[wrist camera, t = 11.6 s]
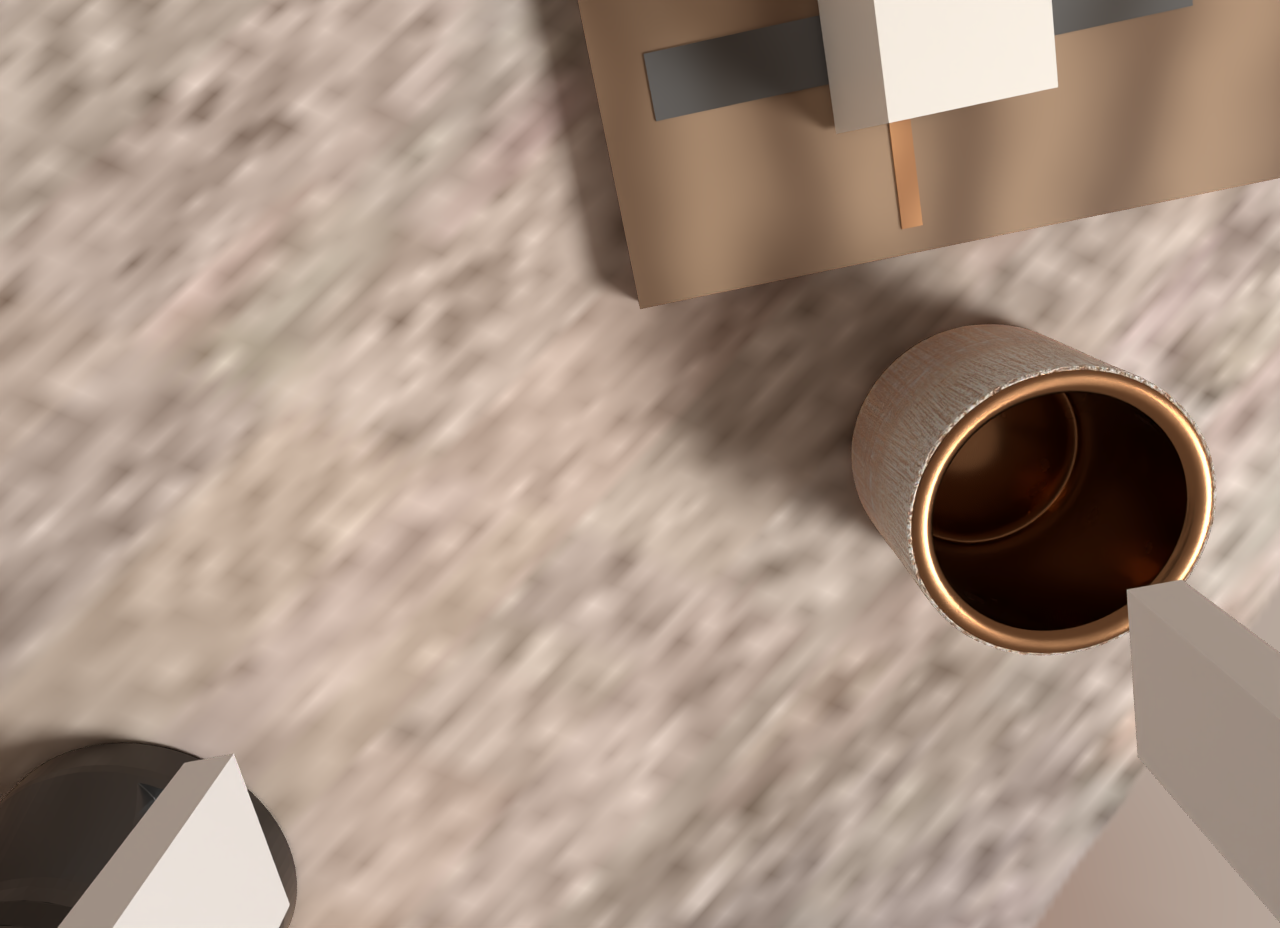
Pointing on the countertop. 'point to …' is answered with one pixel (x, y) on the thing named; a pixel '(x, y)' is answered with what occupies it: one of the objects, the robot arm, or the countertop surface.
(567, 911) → the countertop surface
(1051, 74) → the fader cap
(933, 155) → the fader board
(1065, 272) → the countertop surface
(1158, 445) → the planter
